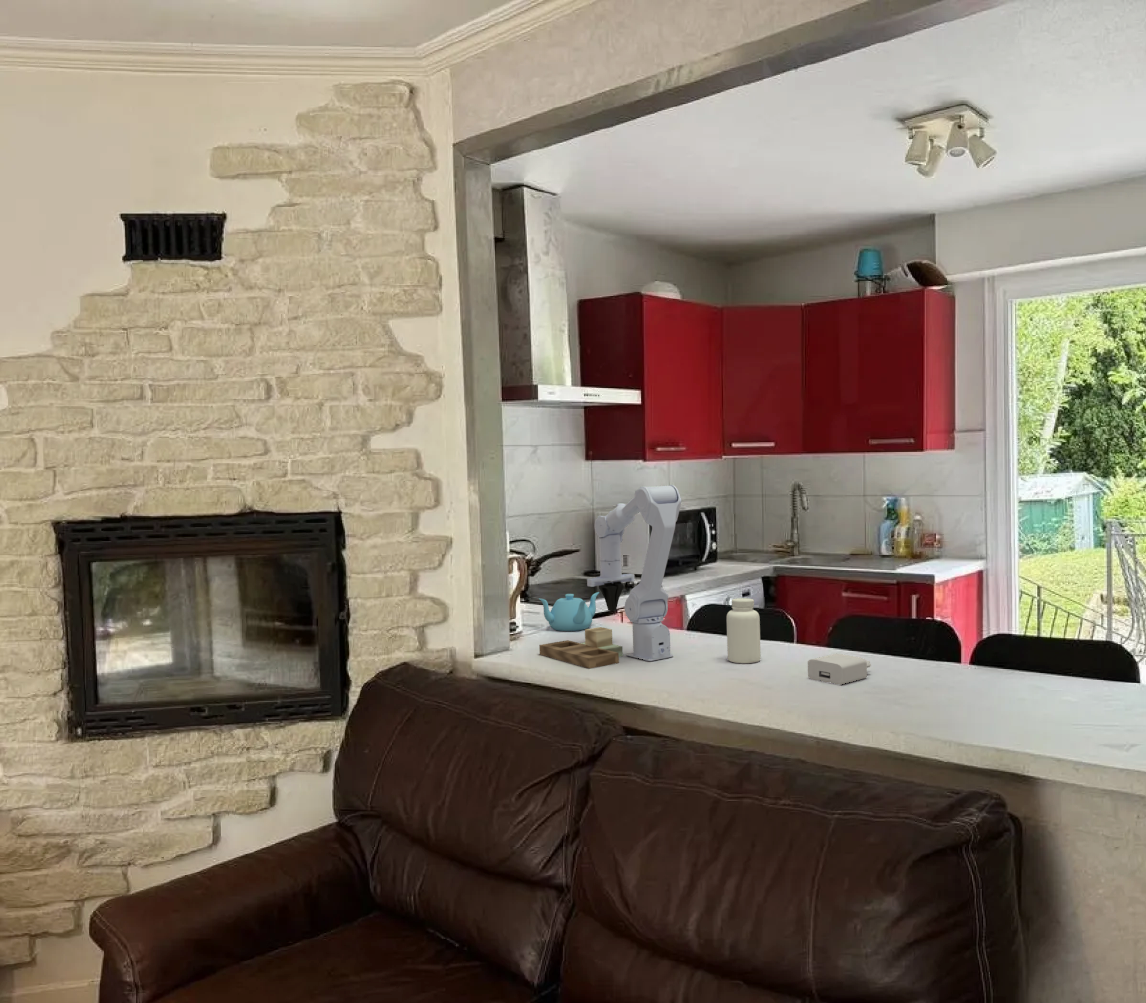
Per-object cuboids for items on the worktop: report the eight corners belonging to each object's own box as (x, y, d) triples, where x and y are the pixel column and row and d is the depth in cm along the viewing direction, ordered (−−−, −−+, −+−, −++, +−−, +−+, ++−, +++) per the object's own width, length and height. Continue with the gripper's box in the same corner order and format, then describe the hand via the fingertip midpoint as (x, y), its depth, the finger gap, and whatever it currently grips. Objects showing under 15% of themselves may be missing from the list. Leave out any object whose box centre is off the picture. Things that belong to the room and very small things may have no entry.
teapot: (557, 623, 292) (556, 590, 291) (603, 624, 286) (602, 590, 286) (539, 632, 278) (537, 597, 278) (587, 633, 273) (585, 598, 272)
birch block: (612, 645, 243) (611, 629, 243) (596, 647, 240) (596, 632, 240) (600, 642, 247) (600, 627, 247) (585, 644, 244) (584, 629, 244)
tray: (636, 659, 236) (635, 649, 236) (589, 668, 228) (588, 658, 228) (584, 646, 254) (584, 637, 254) (539, 654, 246) (539, 645, 246)
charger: (883, 675, 213) (842, 686, 204) (849, 668, 220) (807, 679, 211) (883, 654, 213) (841, 665, 204) (849, 648, 220) (807, 658, 211)
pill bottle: (759, 656, 235) (757, 596, 234) (762, 664, 227) (760, 601, 226) (726, 657, 236) (725, 597, 235) (728, 664, 228) (727, 602, 227)
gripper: (622, 556, 261) (624, 605, 262) (579, 561, 253) (581, 612, 254) (638, 558, 255) (640, 608, 256) (595, 563, 247) (597, 615, 248)
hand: (612, 610), depth 254 cm, fingers closed
